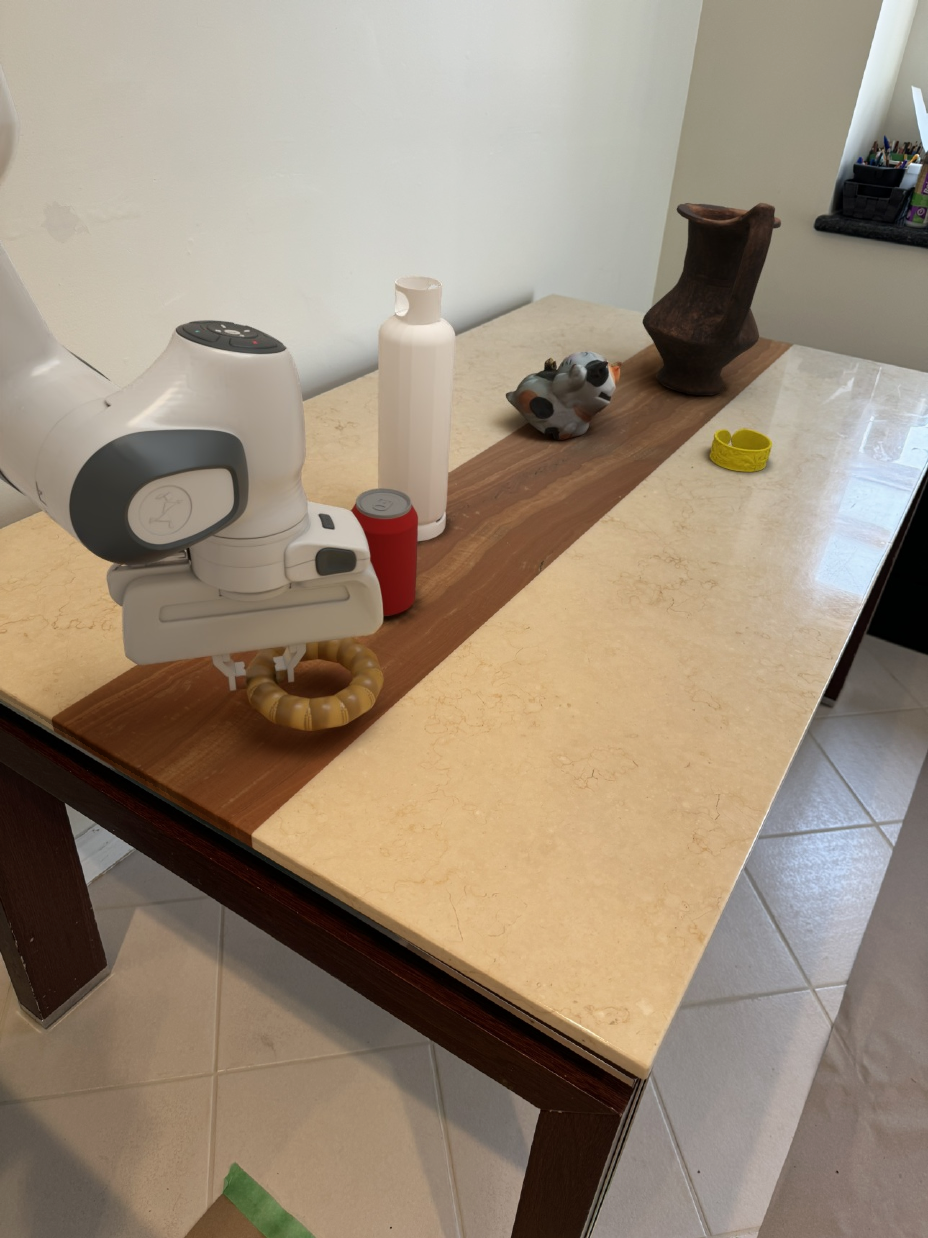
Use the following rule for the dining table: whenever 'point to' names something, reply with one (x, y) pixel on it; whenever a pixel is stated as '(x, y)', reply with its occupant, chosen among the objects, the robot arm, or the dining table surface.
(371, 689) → the ring
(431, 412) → the bottle
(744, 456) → the bracelet
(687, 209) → the jug
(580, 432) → the lucky cat figurine
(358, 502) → the beverage can
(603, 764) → the dining table surface
